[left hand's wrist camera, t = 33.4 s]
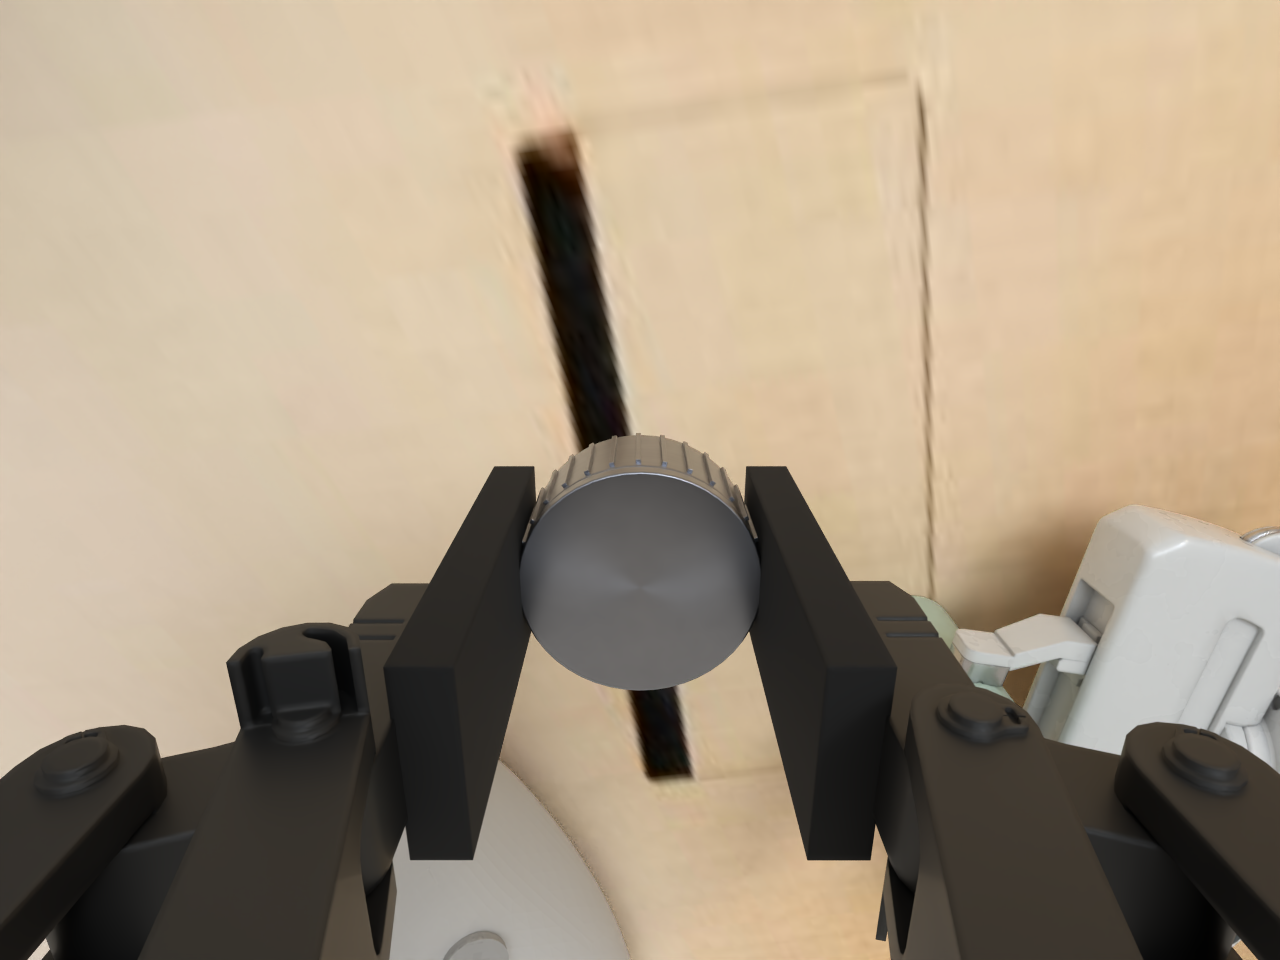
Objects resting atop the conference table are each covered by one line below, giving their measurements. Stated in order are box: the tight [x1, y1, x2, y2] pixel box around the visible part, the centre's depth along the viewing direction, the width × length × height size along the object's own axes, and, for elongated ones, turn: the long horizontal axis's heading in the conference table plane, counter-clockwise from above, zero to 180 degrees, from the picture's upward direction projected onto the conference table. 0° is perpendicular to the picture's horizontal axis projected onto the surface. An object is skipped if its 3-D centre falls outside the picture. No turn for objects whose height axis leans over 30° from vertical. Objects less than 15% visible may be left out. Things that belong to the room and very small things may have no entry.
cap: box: [519, 433, 761, 690], centre depth 13 cm, size 4×4×2 cm
